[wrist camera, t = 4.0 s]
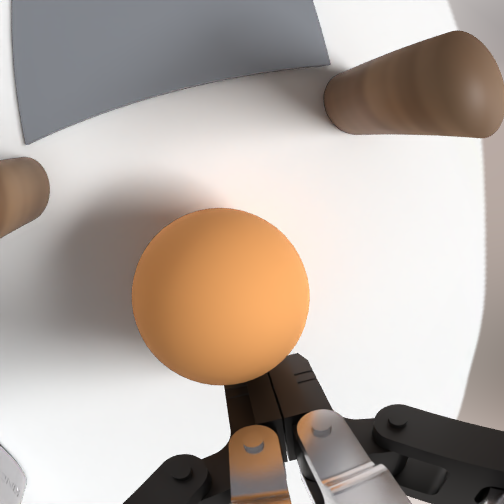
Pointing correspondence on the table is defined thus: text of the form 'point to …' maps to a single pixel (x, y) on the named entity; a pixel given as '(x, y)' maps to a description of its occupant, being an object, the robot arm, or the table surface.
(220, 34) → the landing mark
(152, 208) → the table surface
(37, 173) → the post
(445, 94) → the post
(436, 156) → the table surface
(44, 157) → the table surface
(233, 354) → the ball
